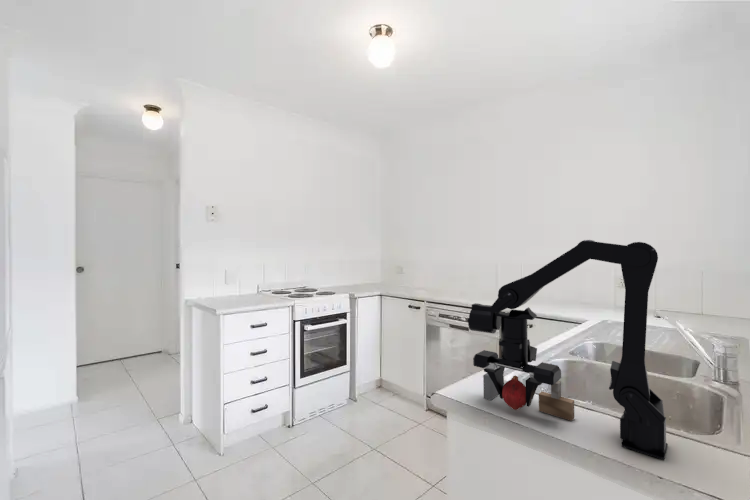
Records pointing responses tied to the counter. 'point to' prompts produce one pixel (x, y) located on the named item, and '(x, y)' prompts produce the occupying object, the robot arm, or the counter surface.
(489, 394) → the jamb
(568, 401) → the door
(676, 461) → the counter surface
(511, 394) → the onion
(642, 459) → the counter surface
